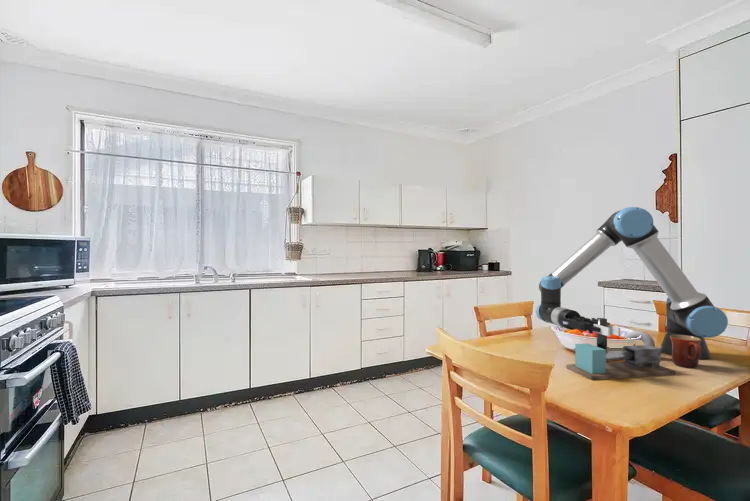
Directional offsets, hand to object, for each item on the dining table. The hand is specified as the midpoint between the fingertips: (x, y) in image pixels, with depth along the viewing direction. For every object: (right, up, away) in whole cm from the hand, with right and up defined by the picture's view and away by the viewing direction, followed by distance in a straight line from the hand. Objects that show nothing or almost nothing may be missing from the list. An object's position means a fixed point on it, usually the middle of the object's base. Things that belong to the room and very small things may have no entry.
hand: (614, 331), depth 121 cm
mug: (+34, -15, +11) cm, 39 cm away
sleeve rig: (+6, -15, +6) cm, 17 cm away
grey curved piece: (+26, -15, +24) cm, 38 cm away
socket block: (-5, -14, +5) cm, 16 cm away
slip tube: (+3, -11, +6) cm, 13 cm away
